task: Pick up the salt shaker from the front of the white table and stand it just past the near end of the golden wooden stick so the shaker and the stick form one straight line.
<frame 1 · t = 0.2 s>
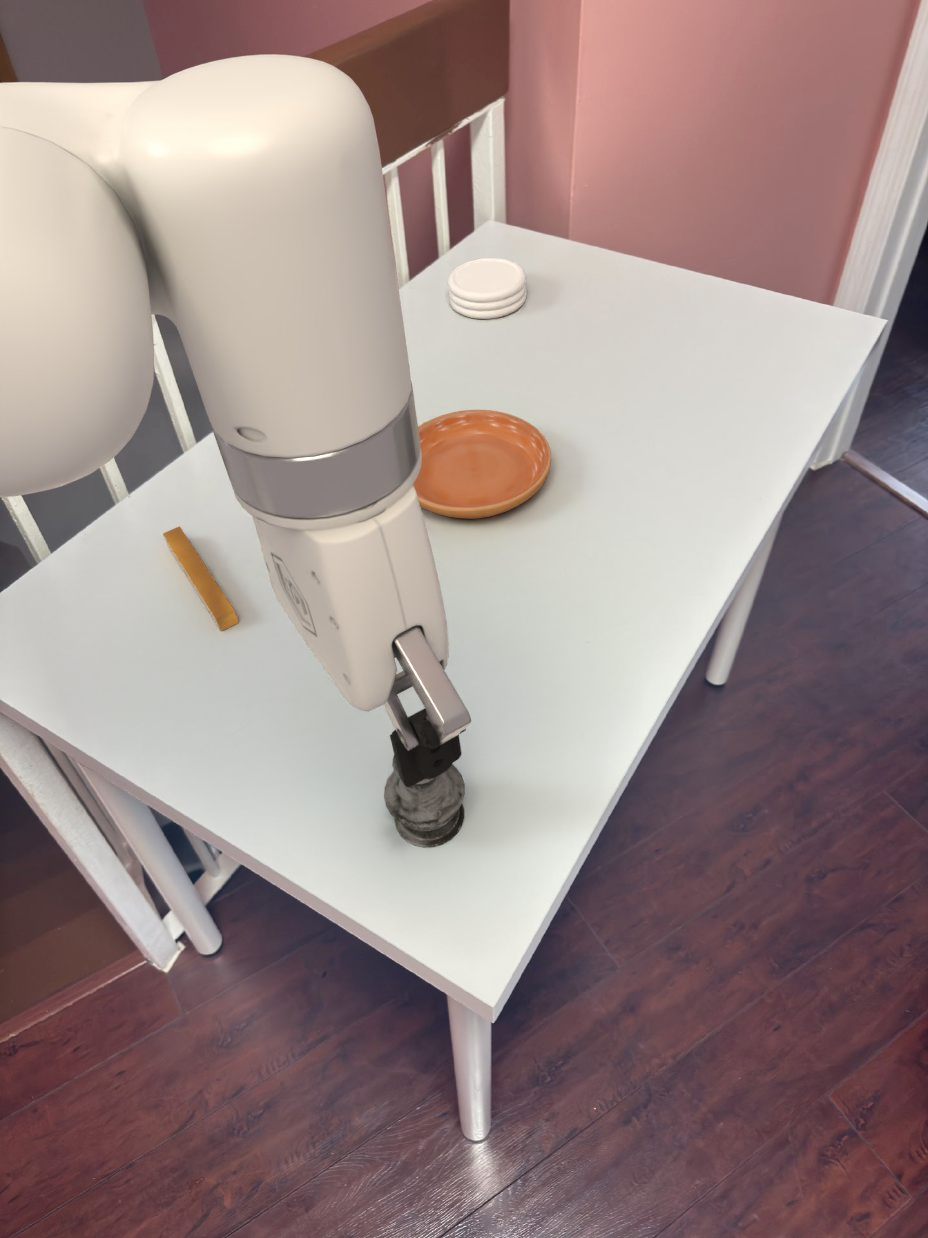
hand: (384, 703, 47), 22 cm above the table, tool pointing down, fingers open, 9 cm apart
saucer: (473, 480, 94), on the table
salt shaker: (429, 816, 68), on the table
coaster: (488, 301, 118), on the table
golden stick: (202, 583, 87), on the table
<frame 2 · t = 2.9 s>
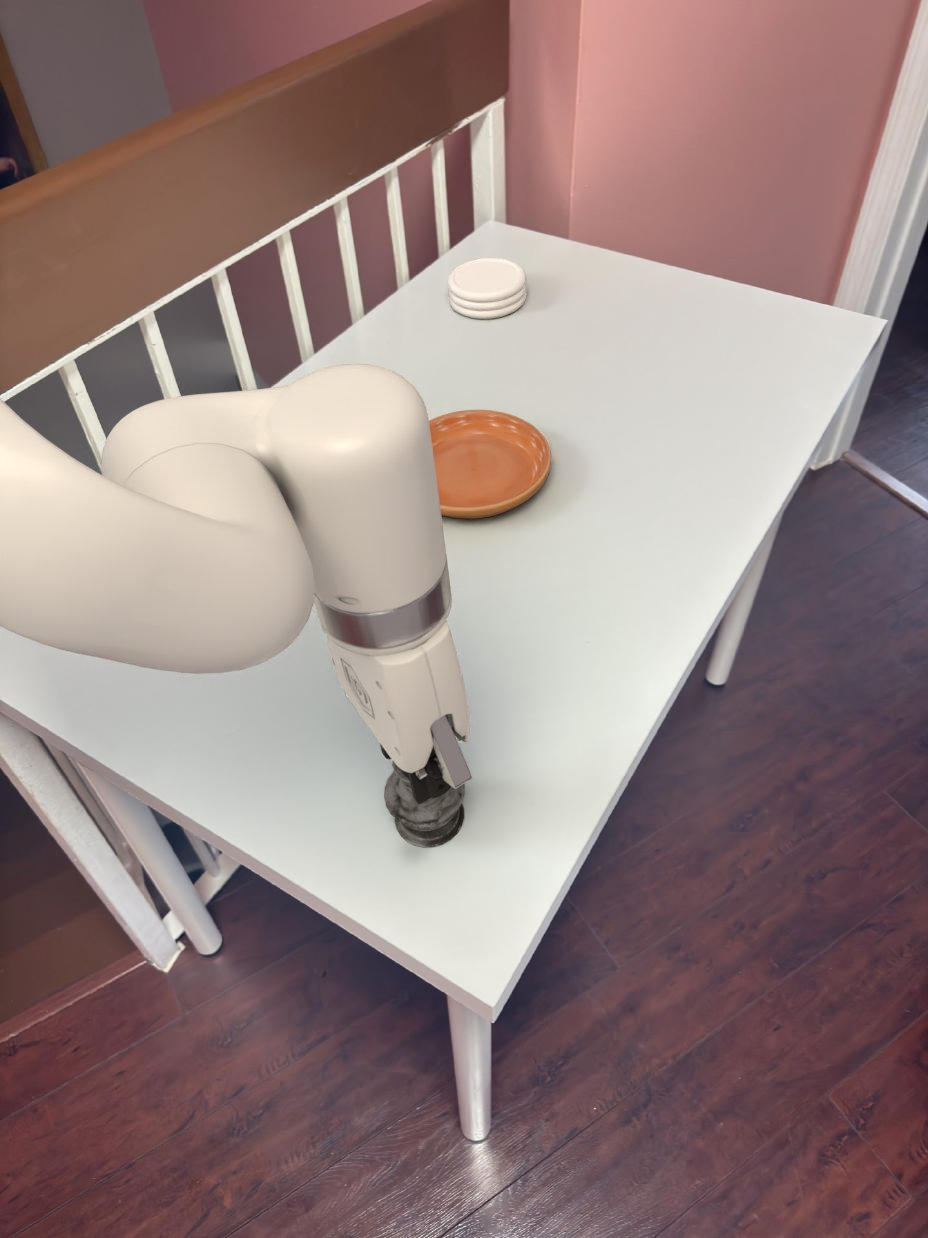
hand: (419, 767, 63), 7 cm above the table, tool pointing down, fingers closed on salt shaker, 3 cm apart
salt shaker: (429, 817, 68), on the table, touching gripper
everything else where it was.
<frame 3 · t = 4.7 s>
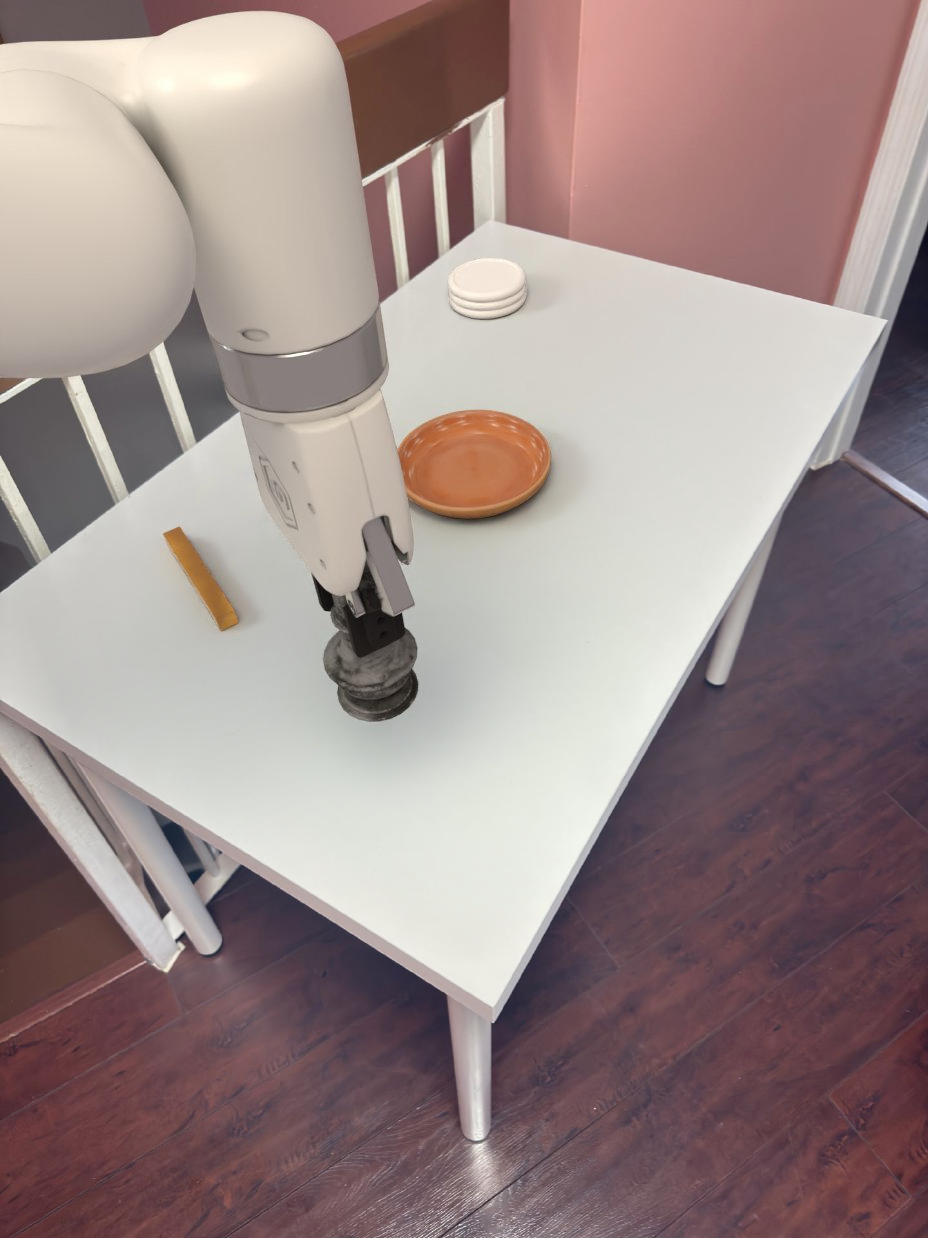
hand: (362, 619, 54), 21 cm above the table, tool pointing down, fingers closed on salt shaker, 3 cm apart
salt shaker: (378, 690, 59), point 14 cm above the table, touching gripper
everything else where it was.
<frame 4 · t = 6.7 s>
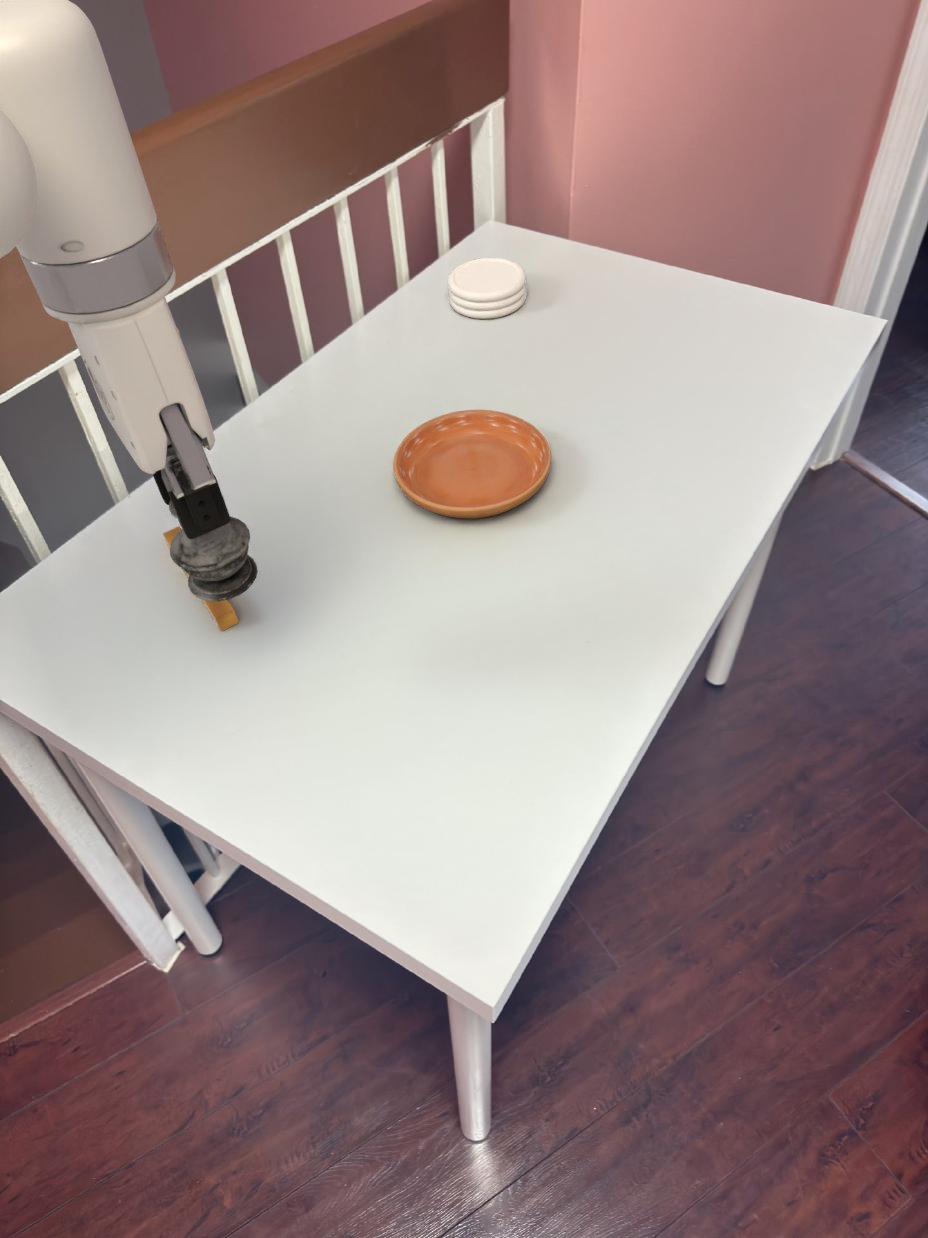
hand: (196, 510, 64), 19 cm above the table, tool pointing down, fingers closed on salt shaker, 3 cm apart
salt shaker: (223, 578, 69), point 12 cm above the table, touching gripper
everything else where it was.
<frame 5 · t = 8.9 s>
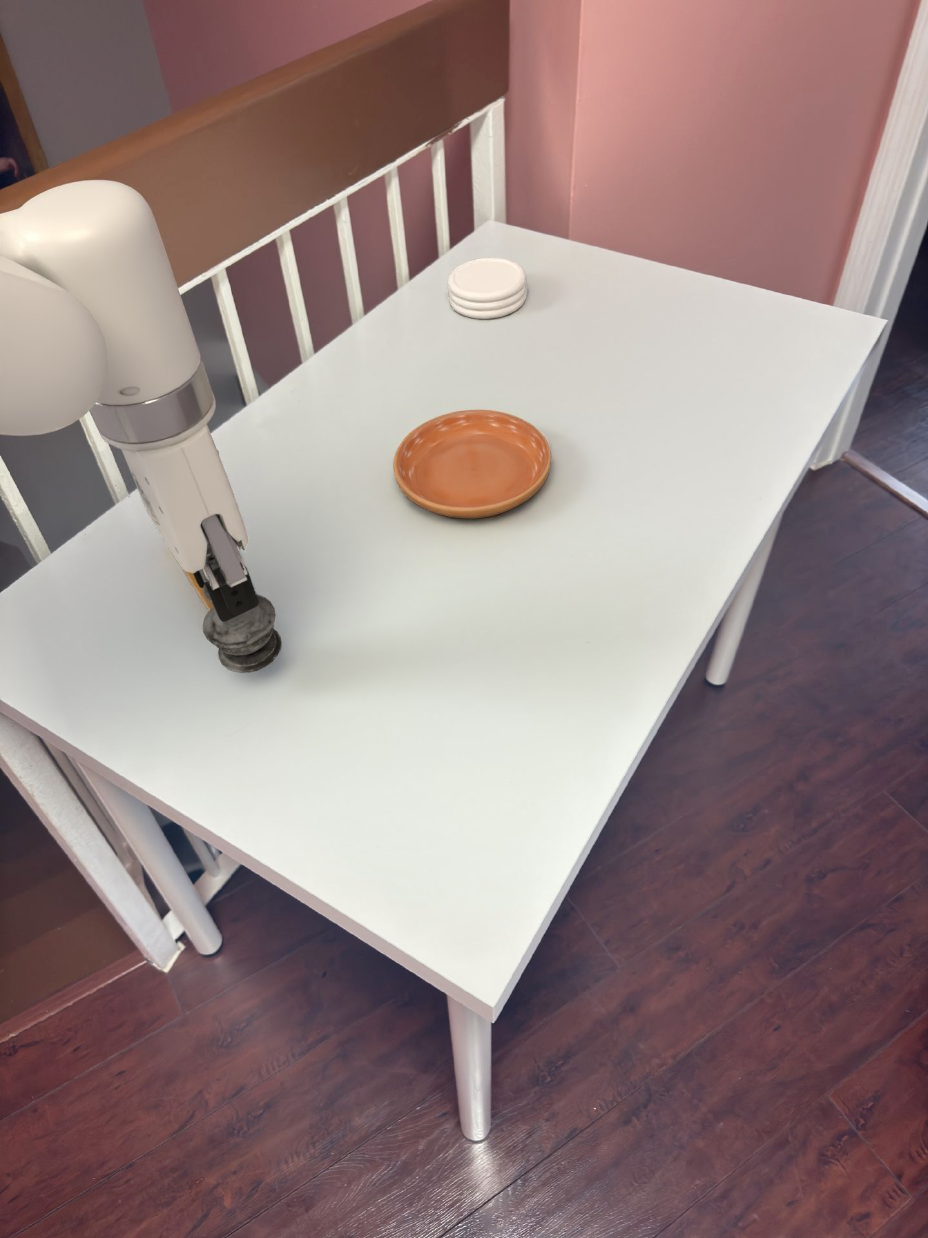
hand: (228, 593, 71), 10 cm above the table, tool pointing down, fingers closed on salt shaker, 3 cm apart
salt shaker: (250, 649, 76), point 4 cm above the table, touching gripper
everything else where it was.
when the fingers open (7 cm above the table, at t = 10.3 s): salt shaker stays where it is, on the table.
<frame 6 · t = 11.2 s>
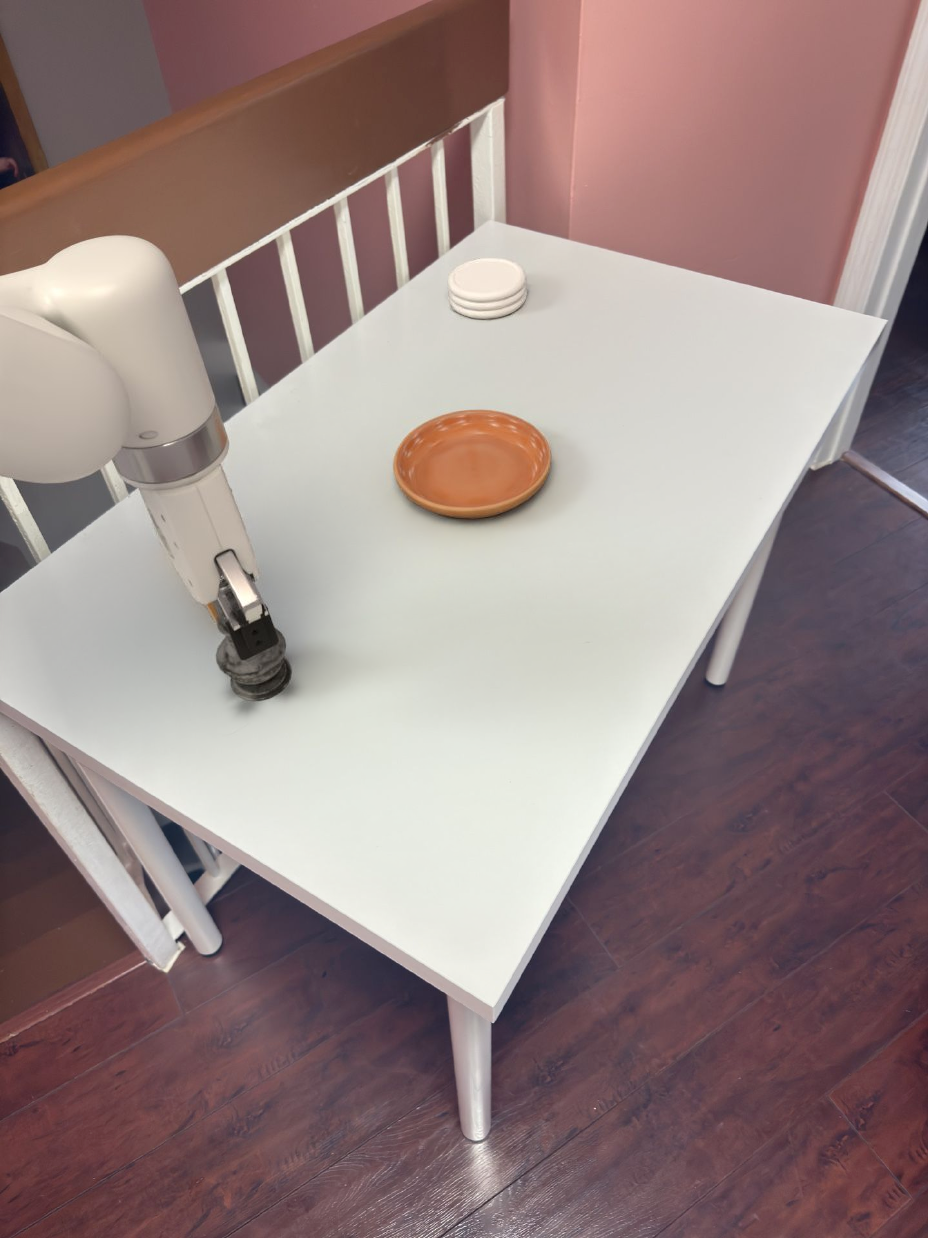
hand: (234, 612, 72), 8 cm above the table, tool pointing down, fingers open, 9 cm apart
salt shaker: (261, 677, 79), on the table
everything else where it was.
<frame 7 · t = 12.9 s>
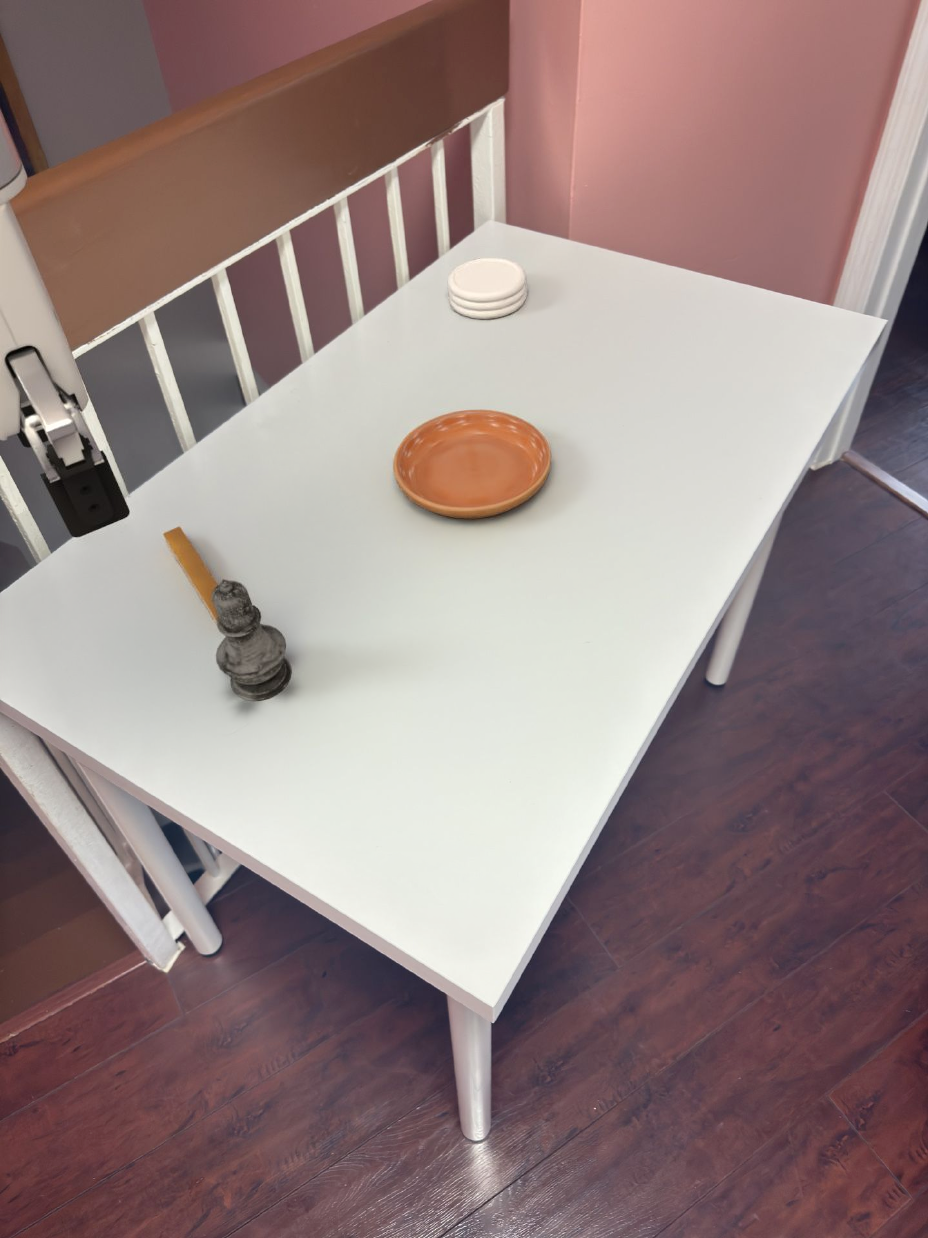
hand: (74, 478, 51), 29 cm above the table, tool pointing down, fingers open, 9 cm apart
nothing on the table moved.
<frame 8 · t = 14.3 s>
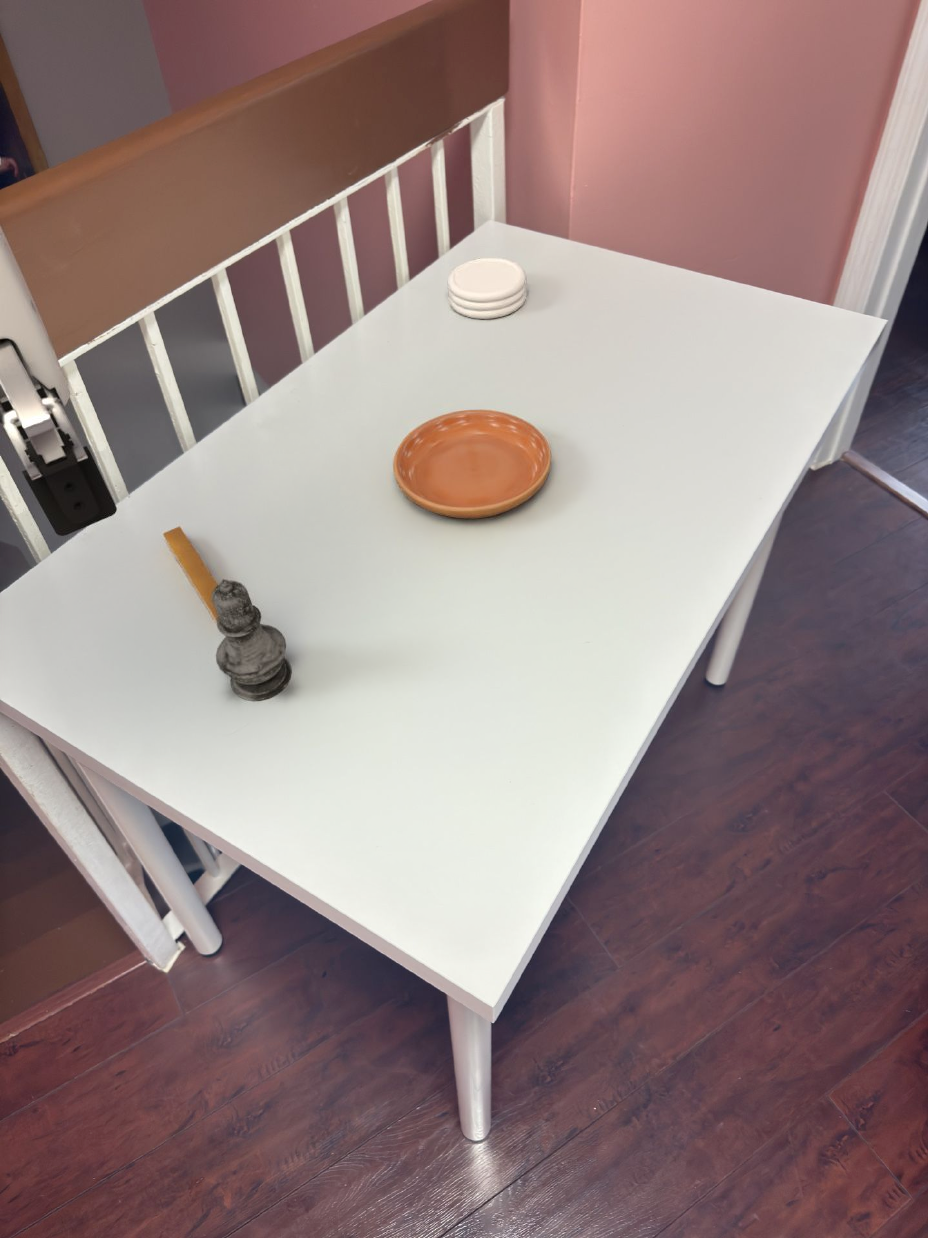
hand: (61, 474, 50), 30 cm above the table, tool pointing down, fingers open, 9 cm apart
nothing on the table moved.
at the end: salt shaker 0.2 cm from the target spot on the table beside the golden stick, on the table; salt shaker tilted 0°; golden stick moved 0.0 cm from its start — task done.
